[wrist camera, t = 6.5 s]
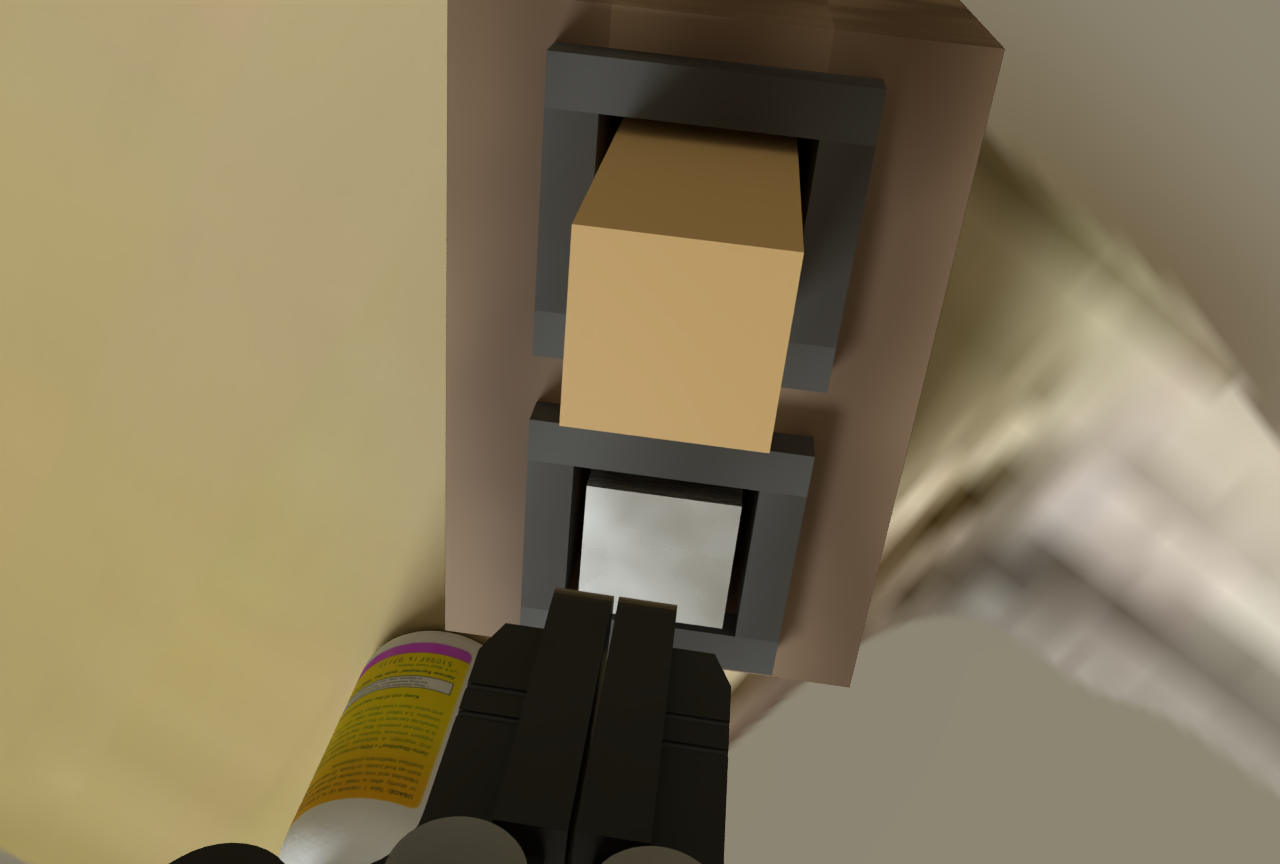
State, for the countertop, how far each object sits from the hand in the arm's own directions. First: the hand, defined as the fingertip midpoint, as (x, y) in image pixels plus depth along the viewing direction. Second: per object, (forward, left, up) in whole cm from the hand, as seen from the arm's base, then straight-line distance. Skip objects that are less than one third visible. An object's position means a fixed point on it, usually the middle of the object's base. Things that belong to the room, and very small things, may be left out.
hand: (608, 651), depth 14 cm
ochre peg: (0, +1, -16) cm, 16 cm away
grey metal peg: (0, -8, -22) cm, 23 cm away
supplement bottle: (-8, -23, -23) cm, 33 cm away
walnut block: (0, -4, -23) cm, 23 cm away
